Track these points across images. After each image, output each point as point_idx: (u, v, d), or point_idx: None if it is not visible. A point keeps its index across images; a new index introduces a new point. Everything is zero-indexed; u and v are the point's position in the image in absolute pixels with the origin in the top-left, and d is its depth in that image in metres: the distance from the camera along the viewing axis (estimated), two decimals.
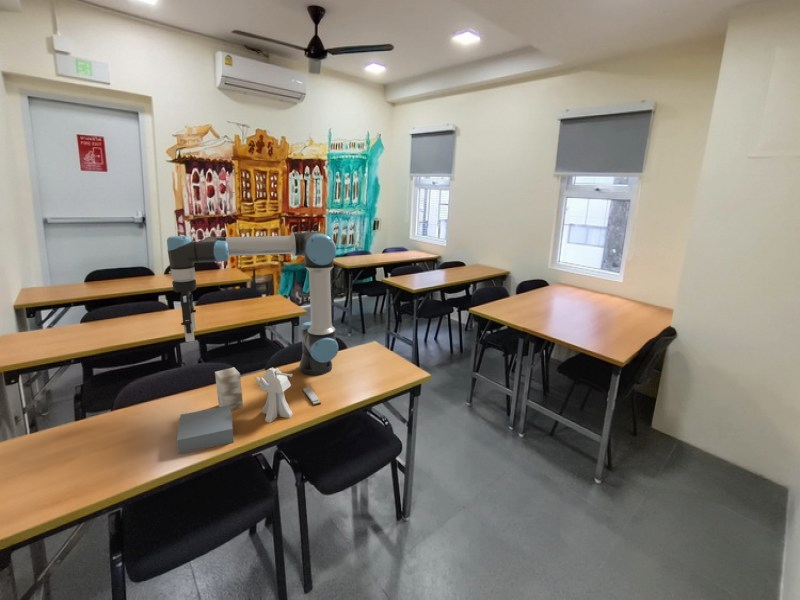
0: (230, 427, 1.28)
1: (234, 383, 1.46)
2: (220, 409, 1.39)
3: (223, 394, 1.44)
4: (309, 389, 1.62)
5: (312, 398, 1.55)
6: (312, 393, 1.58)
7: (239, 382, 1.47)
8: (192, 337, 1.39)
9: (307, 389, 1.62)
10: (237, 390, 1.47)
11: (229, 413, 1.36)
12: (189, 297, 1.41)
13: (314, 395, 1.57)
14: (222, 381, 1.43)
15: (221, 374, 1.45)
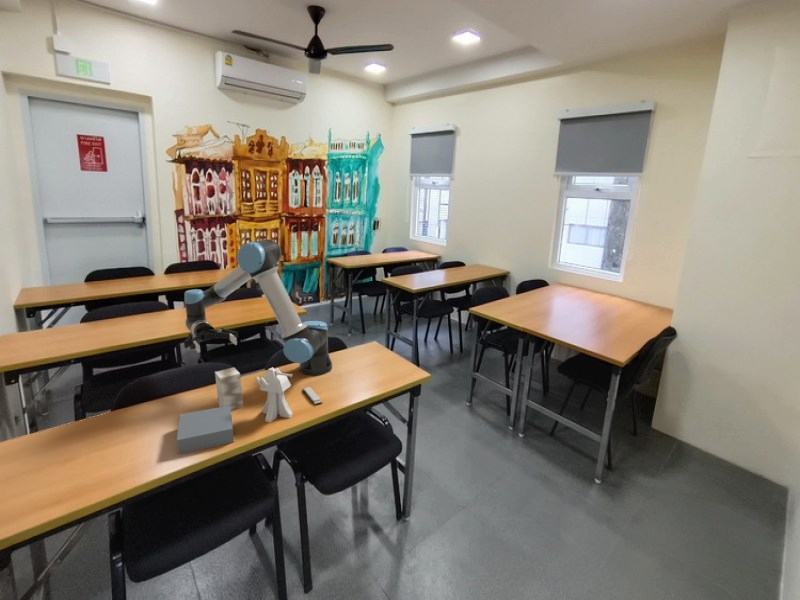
0: (230, 427, 1.28)
1: (234, 383, 1.46)
2: (220, 409, 1.39)
3: (223, 394, 1.44)
4: (310, 389, 1.62)
5: (313, 398, 1.55)
6: (313, 393, 1.59)
7: (239, 382, 1.47)
8: (196, 346, 1.48)
9: (308, 389, 1.62)
10: (237, 390, 1.47)
11: (229, 413, 1.36)
12: None
13: (315, 395, 1.57)
14: (222, 381, 1.43)
15: (221, 374, 1.45)
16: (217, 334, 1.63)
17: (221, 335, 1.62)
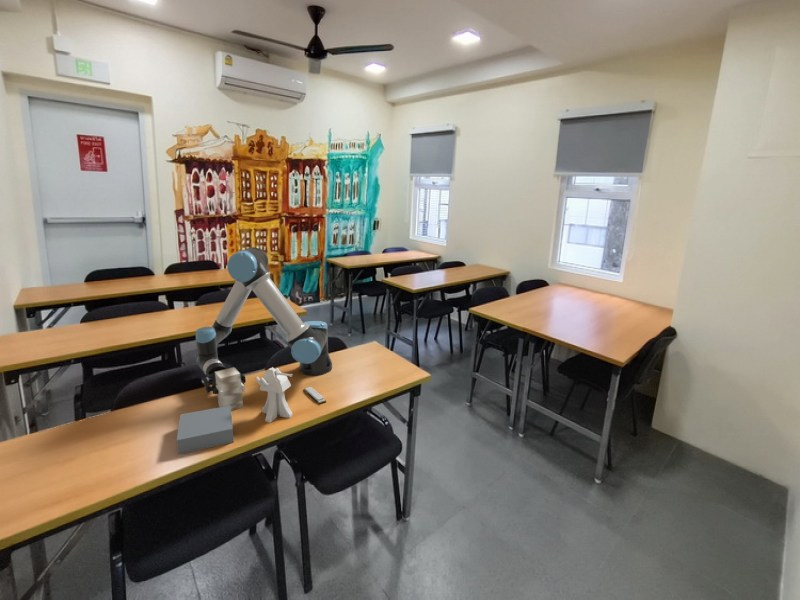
0: (230, 427, 1.28)
1: (234, 383, 1.46)
2: (220, 409, 1.39)
3: (223, 394, 1.44)
4: (311, 388, 1.62)
5: (317, 397, 1.56)
6: (315, 392, 1.59)
7: (239, 382, 1.47)
8: (219, 391, 1.43)
9: (309, 389, 1.62)
10: (237, 390, 1.47)
11: (229, 413, 1.36)
12: (214, 375, 1.56)
13: (318, 394, 1.58)
14: (222, 381, 1.43)
15: (221, 374, 1.45)
16: None
17: None
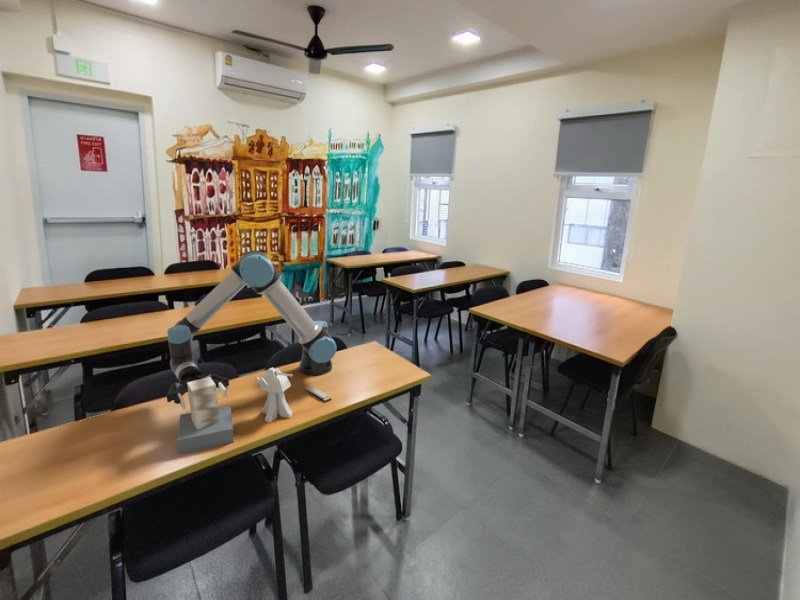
0: (230, 427, 1.28)
1: (209, 395, 1.27)
2: (220, 409, 1.39)
3: (196, 408, 1.25)
4: (313, 388, 1.63)
5: (321, 395, 1.57)
6: (318, 391, 1.60)
7: (215, 394, 1.28)
8: (181, 401, 1.23)
9: (311, 388, 1.63)
10: (212, 403, 1.28)
11: (229, 413, 1.36)
12: None
13: (321, 392, 1.59)
14: (194, 393, 1.24)
15: (193, 386, 1.26)
16: None
17: None
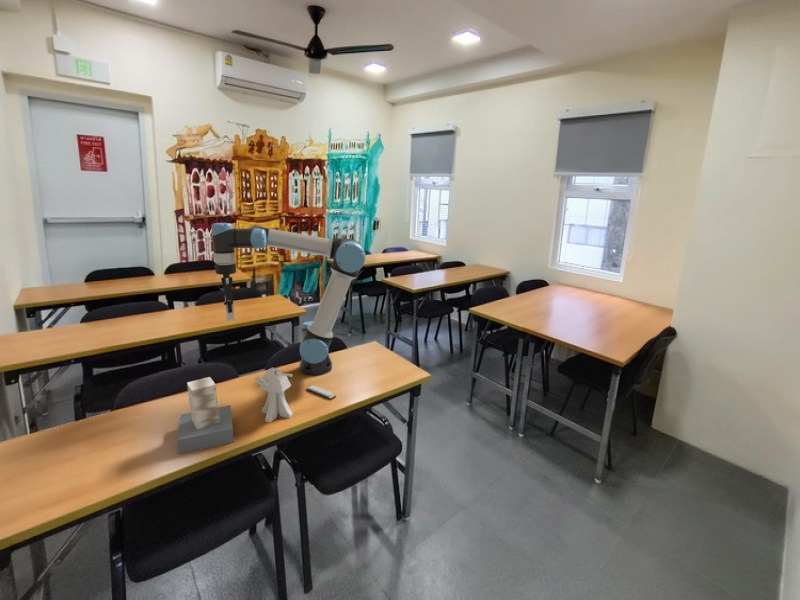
0: (230, 427, 1.28)
1: (209, 395, 1.27)
2: (220, 409, 1.39)
3: (196, 408, 1.25)
4: (315, 387, 1.64)
5: (326, 393, 1.58)
6: (321, 389, 1.62)
7: (215, 394, 1.28)
8: (233, 316, 1.52)
9: (313, 387, 1.63)
10: (212, 403, 1.28)
11: (229, 413, 1.36)
12: None
13: (325, 391, 1.61)
14: (194, 393, 1.24)
15: (193, 386, 1.26)
16: None
17: None
